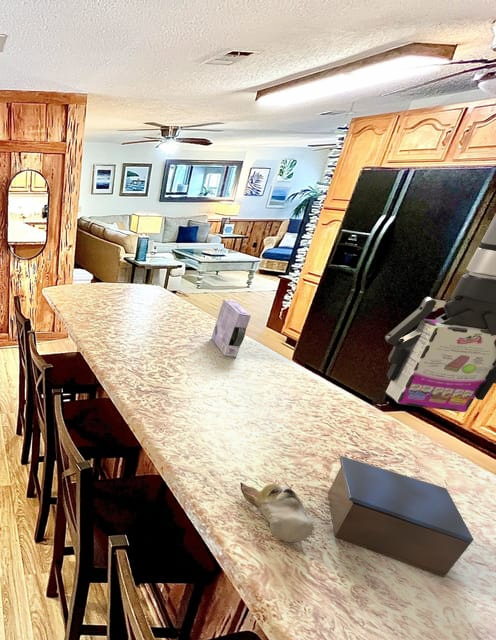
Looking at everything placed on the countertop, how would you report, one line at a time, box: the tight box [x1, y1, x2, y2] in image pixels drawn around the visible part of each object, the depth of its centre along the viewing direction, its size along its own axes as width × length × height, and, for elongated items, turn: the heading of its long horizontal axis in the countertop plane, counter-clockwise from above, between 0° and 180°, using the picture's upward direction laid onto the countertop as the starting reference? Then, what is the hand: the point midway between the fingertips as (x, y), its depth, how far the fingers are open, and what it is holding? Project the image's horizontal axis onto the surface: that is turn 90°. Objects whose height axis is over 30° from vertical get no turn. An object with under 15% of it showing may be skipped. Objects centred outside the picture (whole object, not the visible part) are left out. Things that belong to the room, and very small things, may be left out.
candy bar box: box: [385, 318, 496, 413], centre depth 73 cm, size 11×5×16 cm, turn 75°
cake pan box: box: [210, 298, 251, 358], centre depth 152 cm, size 19×5×18 cm, turn 171°
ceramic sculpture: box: [239, 481, 315, 543], centre depth 77 cm, size 11×9×15 cm
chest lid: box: [339, 455, 475, 543], centre depth 72 cm, size 16×14×1 cm
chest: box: [327, 466, 472, 578], centre depth 75 cm, size 16×14×9 cm
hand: (431, 386), depth 75 cm, fingers closed on candy bar box, 12 cm apart
